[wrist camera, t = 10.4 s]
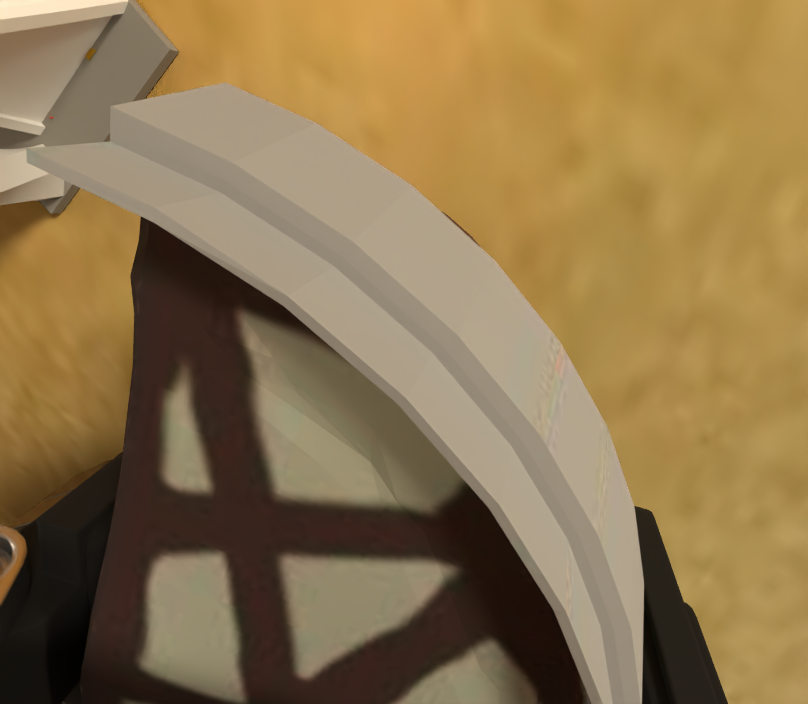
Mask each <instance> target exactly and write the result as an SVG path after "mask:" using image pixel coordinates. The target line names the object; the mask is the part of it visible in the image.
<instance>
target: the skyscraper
mask: <svg viewBox="0 0 808 704" xmlns="http://www.w3.org/2000/svg"><path fill="white" fill-rule="evenodd" d="M178 53H179V51H178V50H177V49H176V48H175V47H174V45H173V44H172V43H171V42H170V41H169V40H168V38H167V37H166V36H165V35H164V34H163V33H162V31H161V30H160V29H159V28H158V27H157V26H156V24H155V23H154V22H153V21H152V20H151V19H150V17H149V16H148V15H147V14H146V13H145V11H144V10H143V9H142V8H141V7H140V6H139V4H138V3H137V2H136V1H135V0H0V205H5V204H12V203H18V202H25V201H32V200H36V201H39V202H40V203H41V204H42V205H43V206H44V207H45V208H46V209H47V210H48V211H49V212H50V213H51V214H55V213H62V211H63V210H64V209H65V207H66V206H67V205H68V203H69V202H70V201H71V199H72V198H73V196H74V195H75V194H76V192H77V191H78V190H79V187H77V186H75V185H73V184H71V183H69V182H67V181H65V180H62V179H60V178H58V177H56V176H54V175H52V174H50V173H48V172H45V171H43V170H41V169H39V168H37V167H35V166H33V165H31V164H28V163H27V154H26V148H36V147H48V146H61V145H74V144H86V143H99V142H110V106H114V105H119V104H123V103H128V102H133V101H138V100H143V99H145V98H146V96H147V95H148V94H149V92H150V91H151V90H152V88H153V87H154V85H155V84H156V83H157V81H158V80H159V79H160V77H161V76H162V75H163V73H164V72H165V70H166V69H167V68H168V66H169V65H170V64H171V62H172V61H173V59H174V58H175V57H176V55H177V54H178Z"/></svg>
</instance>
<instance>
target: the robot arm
mask: <svg viewBox="0 0 808 704" xmlns="http://www.w3.org/2000/svg"><path fill="white" fill-rule="evenodd" d="M122 456H123V452H122V453H120V454H119V455H118V456H116V457H115V458H114V459H113V460H111V461H110V462H109V463H107V464H106V465H105V466H103V467H102V468H101V469H100V470H98V471H97V472H96V473H94V474H93V475H92V476H91V477H89V478H88V479H87V480H85V481H84V482H83V483H82V484H80V485H79V486H78V487H76V488H75V489H74V490H73V491H71V492H70V493H69V494H67V495H66V496H65V497H63V498H62V499H61V500H60V501H58V502H57V503H56V504H54V505H53V506H52V507H51V508H49V509H48V510H47V511H45V512H44V513H43V514H42V515H40V516H39V517H38V518H36V519H35V520H34V521H33V522H31V523H30V524H29V525H27V526H26V527H25V528H23V529H22V530H21V531H20V532H18V531H17V530H14V529H12V528H9V527H7V526H5V525H0V704H61V703H62V702H66V703H68V704H82V699H81V689H80V676H81V667H82V664H83V660H84V654H85V648H86V642H87V637H88V631H89V625H90V619H91V614H92V609H93V605H94V600H95V596H96V591H97V587H98V582H99V578H100V573H101V568H102V564H103V559H104V555H105V550H106V546H107V541H108V537H109V532H110V528H111V522H112V516H113V511H114V505H115V499H116V493H117V488H118V482H119V476H120V470H121V464H122ZM634 507H635V514H636V522H637V530H638V538H639V546H640V554H641V562H642V570H643V578H644V618H643V672H642V704H728V702H727V700H726V697H725V694H724V691H723V689H722V686H721V683H720V680H719V678H718V675H717V672H716V669H715V667H714V664H713V661H712V658H711V656H710V653H709V650H708V647H707V645H706V642H705V639H704V636H703V634H702V631H701V628H700V625H699V623H698V620H697V617H696V615H695V613H694V611H693V609H692V608H691V607H690V606H689V605H688V604H687V603H685V602H684V601H683V599H682V596H681V593H680V590H679V587H678V584H677V581H676V578H675V576H674V573H673V570H672V567H671V564H670V561H669V558H668V555H667V552H666V550H665V547H664V544H663V541H662V538H661V535H660V532H659V529H658V527H657V524H656V521H655V518H654V515H653V514H652V512H651V511H649V510H647V509H643V508H640V507H636V506H634Z"/></svg>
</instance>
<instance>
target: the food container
mask: <svg viewBox="0 0 808 704" xmlns="http://www.w3.org/2000/svg"><path fill="white" fill-rule="evenodd" d="M26 154H27V163H28V164H31V165H33V166H35V167H37V168H39V169H41V170H43V171H45V172H48V173H50V174H52V175H54V176H56V177H58V178H60V179H62V180H65V181H67V182H69V183H71V184H73V185H75V186H77V187H79V188H82V189H84V190H86V191H88V192H90V193H92V194H94V195H96V196H99V197H101V198H103V199H105V200H107V201H109V202H111V203H113V204H116V205H118V206H120V207H122V208H124V209H126V210H128V211H130V212H133V213H135V214H137V215H139V216H141V222H140V235H139V242H138V247H137V251H136V255H135V259H134V263H133V267H132V272H131V286H132V295H133V305H134V344H133V368H132V377H131V386H130V395H129V403H128V412H127V421H126V429H125V438H124V447H123V456H122V464H121V470H120V476H119V482H118V488H117V493H116V499H115V505H114V511H113V516H112V522H111V528H110V532H109V537H108V541H107V546H106V550H105V555H104V559H103V564H102V568H101V573H100V578H99V582H98V587H97V591H96V596H95V600H94V605H93V609H92V614H91V619H90V625H89V631H88V637H87V642H86V648H85V654H84V660H83V664H82V667H81V676H80V689H81V699H82V704H642V672H643V618H644V578H643V570H642V562H641V554H640V546H639V538H638V530H637V522H636V514H635V507H634V504H633V502H632V499H631V496H630V493H629V490H628V487H627V484H626V481H625V478H624V475H623V472H622V469H621V466H620V463H619V460H618V457H617V454H616V451H615V448H614V445H613V442H612V439H611V436H610V433H609V430H608V427H607V425H606V423H605V422H604V420H603V418H602V416H601V414H600V413H599V411H598V409H597V407H596V405H595V404H594V402H593V400H592V398H591V396H590V395H589V393H588V391H587V389H586V387H585V386H584V384H583V382H582V380H581V378H580V377H579V375H578V373H577V371H576V369H575V368H574V366H573V364H572V362H571V360H570V359H569V357H568V355H567V353H566V351H565V350H564V348H563V346H562V344H561V342H560V341H559V340H558V339H557V337H556V336H555V335H554V334H553V332H552V331H551V330H550V329H549V327H548V326H547V325H546V324H545V322H544V321H543V320H542V319H541V317H540V316H539V315H538V314H537V312H536V311H535V310H534V309H533V307H532V306H531V305H530V304H529V302H528V301H527V300H526V299H525V297H524V296H523V295H522V294H521V292H520V291H519V290H518V289H517V287H516V286H515V285H514V284H513V282H512V281H511V280H510V279H509V277H508V276H507V275H506V274H505V272H504V271H503V270H502V269H501V267H500V266H499V265H498V264H497V262H496V261H495V260H494V259H493V258H492V257H491V256H489V255H488V254H487V253H486V252H485V251H484V250H483V249H482V248H481V247H480V246H479V245H478V244H477V242H476V241H475V240H474V239H473V238H472V236H470V235H469V234H468V233H467V232H466V231H465V230H464V229H463V228H461V227H460V226H459V225H458V224H457V223H456V222H455V221H454V220H452V219H451V218H450V217H449V216H448V215H446V214H445V213H443V212H442V211H440V210H439V209H438V208H436V207H435V206H434V205H433V204H432V203H431V202H430V201H429V200H428V199H427V198H425V197H424V196H423V195H422V194H421V193H420V192H419V191H418V190H417V189H416V188H414V187H413V186H412V185H411V184H409V183H408V182H406V181H405V180H403V179H401V178H400V177H398V176H397V175H395V174H394V173H392V172H391V171H389V170H388V169H386V168H385V167H383V166H382V165H380V164H379V163H377V162H375V161H374V160H372V159H371V158H369V157H368V156H366V155H365V154H363V153H362V152H360V151H359V150H357V149H356V148H354V147H352V146H351V145H349V144H348V143H346V142H345V141H343V140H342V139H340V138H339V137H337V136H336V135H334V134H333V133H331V132H330V131H328V130H326V129H325V128H323V127H322V126H320V125H319V124H317V123H315V122H313V121H311V120H309V119H306V118H304V117H302V116H300V115H297V114H295V113H293V112H291V111H288V110H286V109H284V108H282V107H280V106H277V105H275V104H273V103H271V102H268V101H266V100H264V99H262V98H259V97H257V96H255V95H253V94H251V93H248V92H246V91H244V90H242V89H239V88H237V87H235V86H233V85H230V84H228V83H221V84H216V85H211V86H207V87H202V88H197V89H192V90H187V91H182V92H177V93H172V94H167V95H163V96H158V97H153V98H148V99H143V100H138V101H133V102H128V103H123V104H119V105H114V106H110V142H99V143H86V144H74V145H61V146H48V147H36V148H26Z"/></svg>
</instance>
